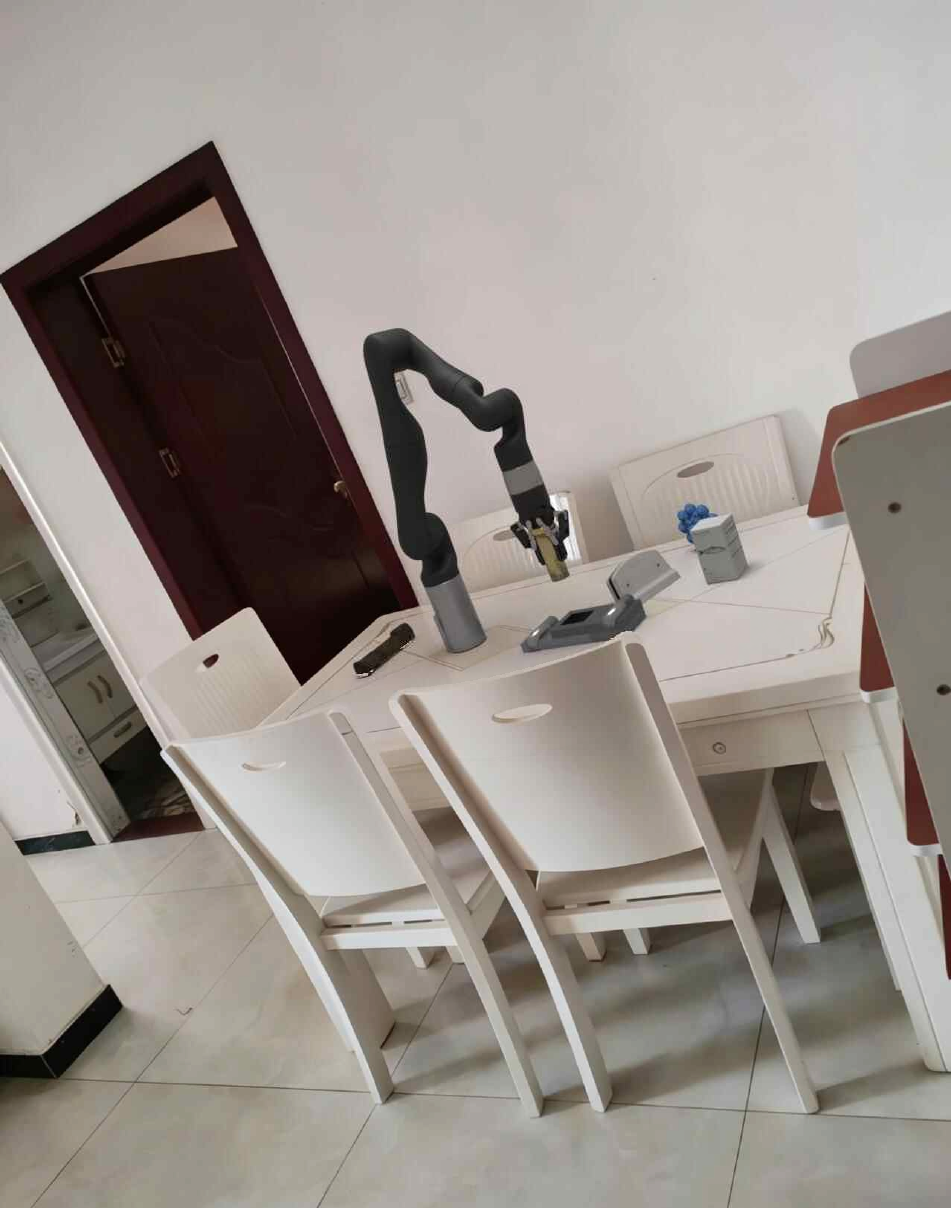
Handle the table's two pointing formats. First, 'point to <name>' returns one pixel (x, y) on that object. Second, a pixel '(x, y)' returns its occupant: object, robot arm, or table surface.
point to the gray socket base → (587, 625)
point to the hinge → (641, 576)
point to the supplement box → (719, 548)
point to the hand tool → (385, 649)
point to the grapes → (692, 518)
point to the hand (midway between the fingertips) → (554, 561)
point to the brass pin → (550, 555)
